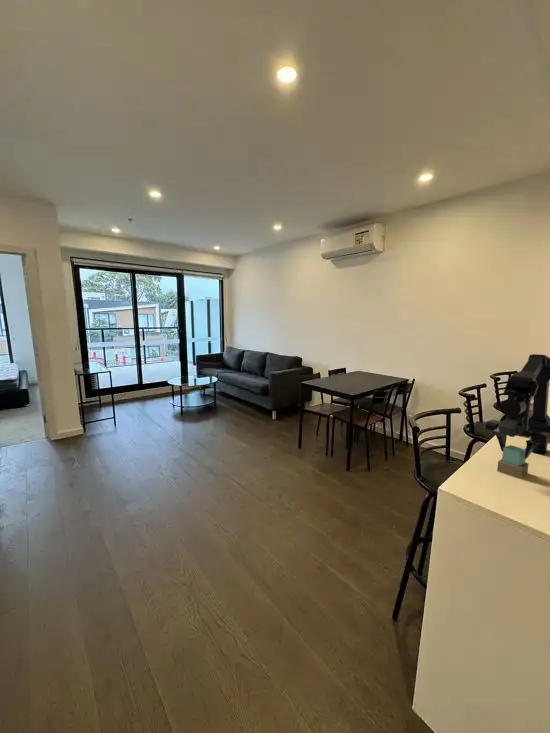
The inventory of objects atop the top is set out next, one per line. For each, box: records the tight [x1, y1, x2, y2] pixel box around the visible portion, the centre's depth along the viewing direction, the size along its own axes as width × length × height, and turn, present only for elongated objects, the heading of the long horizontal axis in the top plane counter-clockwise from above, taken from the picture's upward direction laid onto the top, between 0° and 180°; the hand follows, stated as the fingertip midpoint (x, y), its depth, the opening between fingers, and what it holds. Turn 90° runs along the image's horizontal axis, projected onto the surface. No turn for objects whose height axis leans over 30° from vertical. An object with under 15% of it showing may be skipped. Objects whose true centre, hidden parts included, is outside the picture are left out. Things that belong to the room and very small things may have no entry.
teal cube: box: [501, 444, 526, 466], centre depth 113 cm, size 5×5×5 cm
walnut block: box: [496, 458, 529, 480], centre depth 113 cm, size 7×7×4 cm
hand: (514, 454), depth 113 cm, fingers open, 7 cm apart
